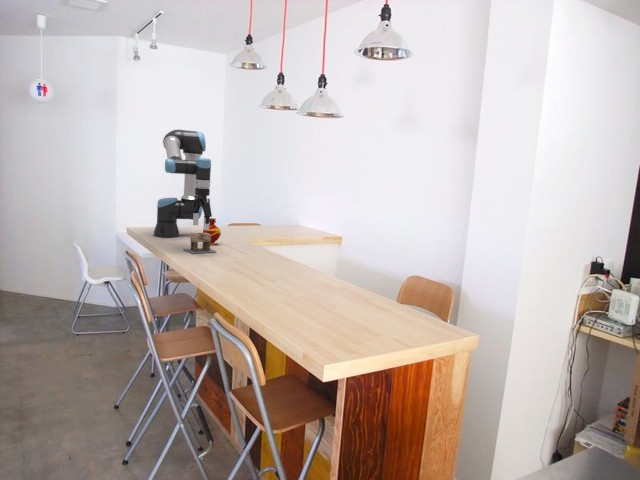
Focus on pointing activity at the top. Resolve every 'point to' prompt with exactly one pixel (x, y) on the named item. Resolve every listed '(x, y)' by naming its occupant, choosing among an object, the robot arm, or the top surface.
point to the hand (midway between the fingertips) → (200, 227)
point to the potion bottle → (213, 231)
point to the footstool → (200, 238)
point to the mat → (199, 251)
